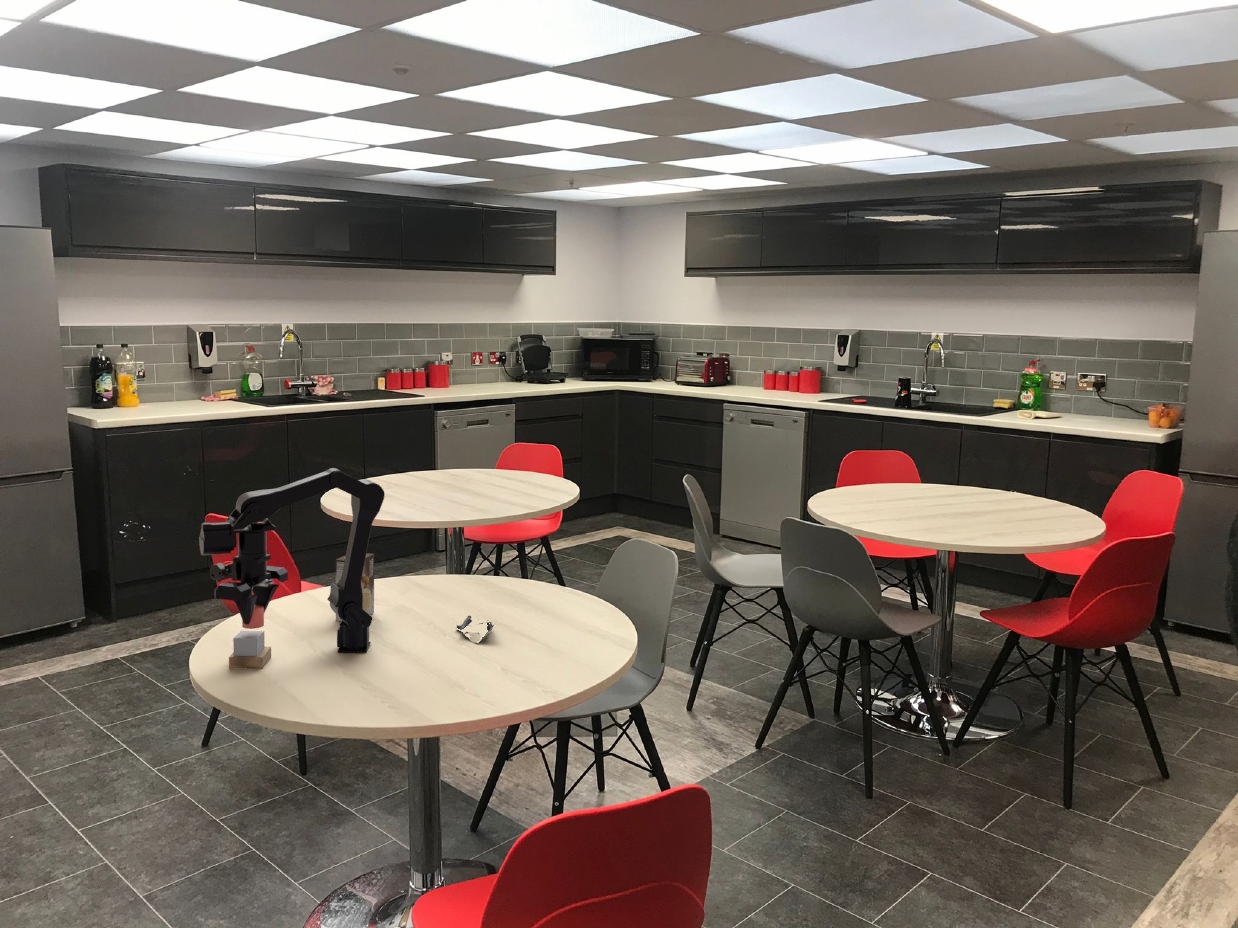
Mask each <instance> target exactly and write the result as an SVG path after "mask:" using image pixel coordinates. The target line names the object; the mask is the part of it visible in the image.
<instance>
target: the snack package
mask: <svg viewBox="0 0 1238 928" xmlns="http://www.w3.org/2000/svg"><path fill="white" fill-rule="evenodd" d="M478 620H479V618H478ZM472 622H473V620H472V616H471V615H467V617H466V618H465V619H464V620H463V623H462V624H461V625H458V624H457V625H456V628H458V629H460V630H462V629H464V628H465V627H466V626H470V624H471V623H472ZM483 623H484V622H481V623H480V624H483ZM486 623H487V625H488V626H487V630H488V632H487V633H486V634H485V636H484V637H482V638H483V640H484V639H485V638H486V637H487V636H488V635H489V633H491V631H492V629H493V628H494V626H495V624H492V623H493V622H491V621H489V619H488V620H487V622H486ZM489 623H490V624H489ZM464 635H465V634H463V636H464Z"/></svg>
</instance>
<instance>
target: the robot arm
mask: <svg viewBox="0 0 1238 928" xmlns="http://www.w3.org/2000/svg"><path fill="white" fill-rule="evenodd" d="M334 489H339V490H340V491H342V492H345V493H346V494H349V495H350V496H351V498H350V506H351V514H352V522H351V527H350V530H349V531H350V532H349V536H348V537H349V538H348V543H347V547H346V552H345V555H346V557H345V562H344V567H343V572H342V576H341V579H340V580H339V582H338V583H337V584H336V583H334V582H332V583H330V592H329V596H328V597H327V599H326V600H327V601H328V602H329V607H330V609H331V610H332V612H333V613H334V614H335V615H336V614H337V615H338V616H339V618H340V619H341V620H342V621H340V623H339V627H338V628H337V630H336V636H337V637H336V647H337V648H338V649H337V652H338V653H367V652H368V651H369V648H370V646H371V643H372V642H371V641H370V627H371V625H372V621H373V620H374V619H373V618H374V617H372V615H369V614H368V613H367V612H366V611H364V610H363V593H362V586H361V579H362V574H363V569H364V563H365V558H366V553H367V552H368V548H369V542H370V537H371V532H372V527H373V523H374V520H375V519H376V518H377V516H378V514H380V513H379V512H381V508H382V505H383V503H384V500H385V490H384V488H383V487H382V486H381V485H379V484H378V483H376V482H374V481H372V480H370V479H367V478H365V479H364V478H363V479H357V478H355V477H354V476H351V475H349V474H346V473H344V472H343V471H342V470H341V469H340V470H339V469H338V468H335V467H332V468H331V467H330V468H328V469H326V470H325V471H322V472H320V473H317V474H314V475H311V476H308V477H305V478H303V479H299V480H296V481H294V482H291V483H289V484H285V485H282V486H280V487H276V488H269V489H267V488H266V489H259V490H254V491H253V490H252V491H248V492H244V493H242V494H240V495H239V496H238V498H237V500H236V502H235V503H236V504H235V508H234V509H233V511H232V512H231V513H230V514H229V515H228V517H227V518H226V520H225V522H202V523H201V529H200V535H199V538H198V539H199V540H198V543H199V544H198V545H199V551H200V555H201V556H212V555H213V556H215V555H225V554H231V553H232V551H235V549H236V548H238V549H237V551H238V552H237V555H236V556H235V555H234V557H233V558H232V562H231V563H230V562H228V563H227V564H224V563H222V562H217V563H214V564H213V565H210V571H209V576H210V578H211V579H212V580H213V581H215V582H216V583H217V584H218V583H221V582H222V583H221V584H218V585H217V586H216V587H215V588H214V598H215V599H218V600H225V601H232V602H234V604H235V605H236V608H237V610H238V612H239V615H240V617H241V620H243V623H244V624H247V625H248V624H249V623H250V620H251V617H252V613H253V610H254V606H255V605H261V606H263V607H264V614H265V613H266V610H267V608H268V607H269V604H270V603H271V601H272V598H273V596H274V595H275V592H276V591H277V589H278V588H279V587H280V584H277V583H276V584H275V583H274V579H275V580H277V581H278V582H279V583H281V584H282V583H284V582H286V581H288V580H289V571H288V570H287V569H286V567H284V566H283V567H281V566H273V565H267V563H268V561H269V560H271V559H272V558H271V557H272V555H271V554H268V553H267V547H268V546H267V544H268V543H267V534H268V533H267V532H269V531H270V532H272V531H276V530H277V527H276V526H275V525H274V524H272V522H271V521H270V520H269V518H270V517H271V516H273V515H275V514H276V513H277V512H279V511H280V510H281V509H283V508H285V507H286V506H289V505H292V504H294V503H297V502H300V501H303V500H305V499H309V498H312V497H313V496H317V495H319V494H322V493H325V492H327V491H331V490H334ZM228 579H231V581H226V580H228ZM223 581H226V582H223ZM238 581H239V582H238Z"/></svg>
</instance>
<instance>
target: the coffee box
mask: <svg viewBox="0 0 1238 928" xmlns="http://www.w3.org/2000/svg"><path fill="white" fill-rule="evenodd" d="M345 557H346V554H345V555H343V556H340V557H338V558H336V559H335V584H337V583H338V582H339V580H340V579H341V576H342V572H343V567H344V562H345ZM361 586H362V593H363V610H364V611H366V612H367V613H368V614H369V615H370V616H372V615H373V614H374V613H375V553H366V558H365V563H364V569H363V574H362V579H361ZM335 621H337V622H341V621H342V620H341V619H340V618H339V616H338V615H337V614H336V613H335Z"/></svg>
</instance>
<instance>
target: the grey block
mask: <svg viewBox="0 0 1238 928" xmlns="http://www.w3.org/2000/svg"><path fill="white" fill-rule="evenodd" d="M232 639H233V640H232V641H233V652H234V656H258V655H259V654H260V653H261V652H262V651H263V650H264V649H265V647H266V646H265V631H263V630H240V631H239V632H238V633H237V634H236V635H235V636H234V637H233V638H232Z"/></svg>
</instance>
